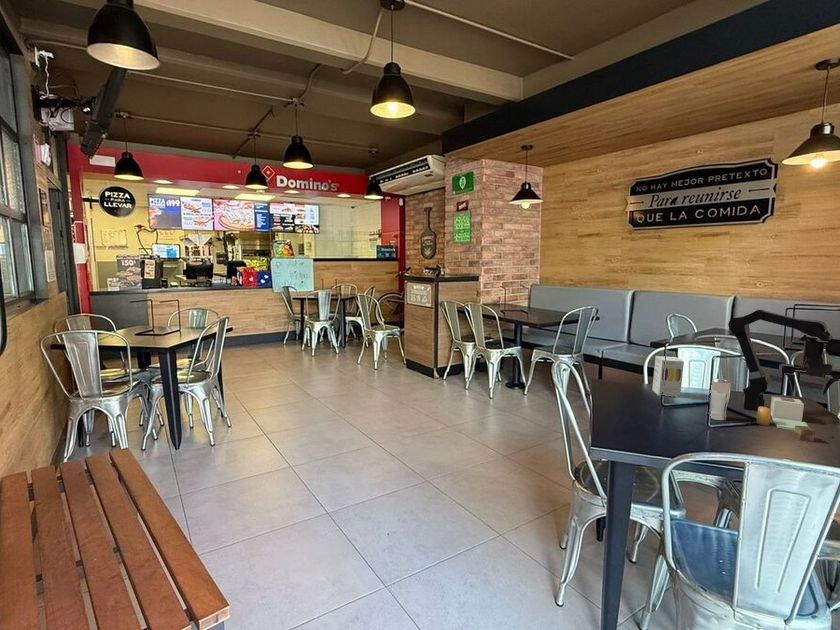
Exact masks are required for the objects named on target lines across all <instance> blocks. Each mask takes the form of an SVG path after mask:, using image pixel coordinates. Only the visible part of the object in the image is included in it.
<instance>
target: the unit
mask: <svg viewBox="0 0 840 630" xmlns="http://www.w3.org/2000/svg"><path fill="white" fill-rule="evenodd" d="M770 396H771V397H770V405H769V408H770V409H771V416H770V417H772V418H780V419H786V420H793V421H800V422H803V414H804V409H805V408H804V405H805V404H804V403H803V401H802V400H800V399H798V398H797V399H796V398H790V397H783V396H775V395H770Z"/></svg>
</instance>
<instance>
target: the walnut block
mask: <svg viewBox="0 0 840 630" xmlns="http://www.w3.org/2000/svg"><path fill="white" fill-rule="evenodd" d="M793 431H794V432H793V437H795V438H796V439H798V441H801V442H802V441H803V442H804V441H805V442H812V443H813V442H814V441H815V432H816V430H814V428H812V427H810V426H809V427H807V426H796V425H795V430H793Z"/></svg>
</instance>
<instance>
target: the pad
mask: <svg viewBox="0 0 840 630" xmlns="http://www.w3.org/2000/svg"><path fill="white" fill-rule="evenodd" d="M771 420H772V422H773V423H774V424H775V426H776V428H777V429H783V430H789V431H794V430H795V425H796V426H807V427H810V426H809V425H808V424H807V422H805V421H802V422H800V421H793V420H786V419H780V418H773V417H772V419H771Z"/></svg>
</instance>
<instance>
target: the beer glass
mask: <svg viewBox="0 0 840 630" xmlns="http://www.w3.org/2000/svg"><path fill="white" fill-rule="evenodd" d="M711 379H712V385H711V390H710V388H709V392H708V394H710V393H711V414H710V416H711V418H710V419H712V420H715V421H716V420H717V421H726V420H727V407H728V404H729V401H730V398H731V392H732V386H731V384H732V382H731V381H730V380H728V379H723V378H711Z"/></svg>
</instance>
